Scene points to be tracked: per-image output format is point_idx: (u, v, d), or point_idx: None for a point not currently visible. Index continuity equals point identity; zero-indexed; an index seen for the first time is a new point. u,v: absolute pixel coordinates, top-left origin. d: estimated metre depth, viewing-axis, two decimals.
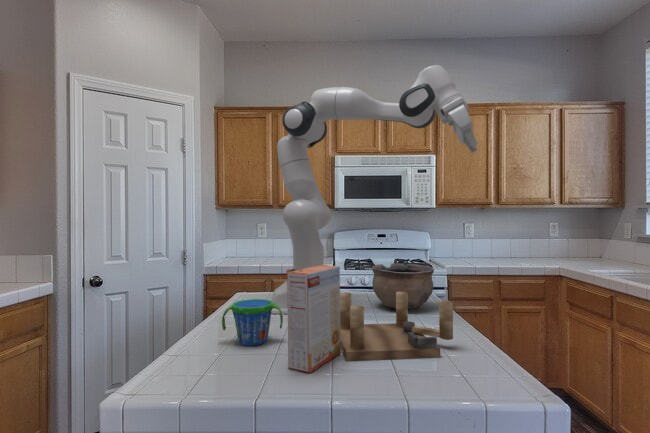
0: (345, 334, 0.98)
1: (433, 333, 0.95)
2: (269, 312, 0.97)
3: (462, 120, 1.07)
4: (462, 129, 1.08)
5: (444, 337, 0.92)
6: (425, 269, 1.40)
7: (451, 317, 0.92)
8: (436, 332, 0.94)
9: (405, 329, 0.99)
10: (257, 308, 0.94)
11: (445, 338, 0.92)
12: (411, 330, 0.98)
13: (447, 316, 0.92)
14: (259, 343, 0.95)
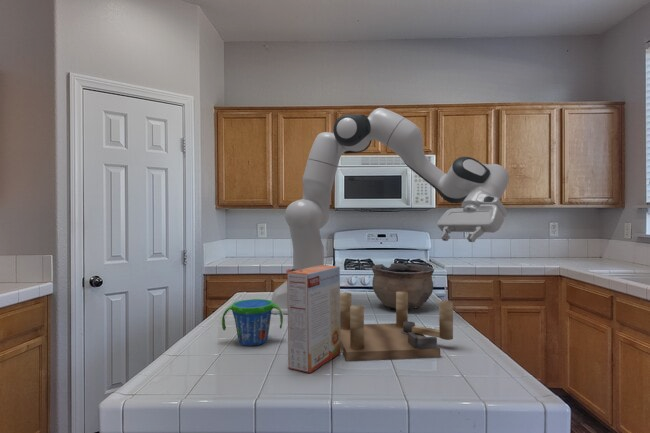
0: (345, 334, 0.98)
1: (433, 333, 0.95)
2: (269, 312, 0.97)
3: (497, 221, 1.05)
4: (490, 224, 1.04)
5: (444, 337, 0.92)
6: (425, 269, 1.40)
7: (451, 317, 0.92)
8: (436, 332, 0.94)
9: (405, 329, 0.99)
10: (257, 308, 0.94)
11: (445, 338, 0.92)
12: (411, 330, 0.98)
13: (447, 316, 0.92)
14: (259, 343, 0.95)
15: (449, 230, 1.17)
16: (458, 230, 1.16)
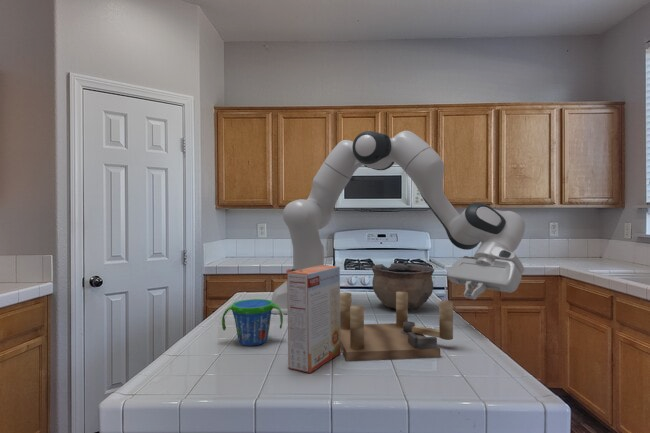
0: (345, 334, 0.98)
1: (433, 333, 0.95)
2: (269, 312, 0.97)
3: (515, 281, 0.96)
4: (507, 285, 0.95)
5: (444, 337, 0.92)
6: (425, 269, 1.40)
7: (451, 317, 0.92)
8: (436, 332, 0.94)
9: (405, 329, 0.99)
10: (257, 308, 0.94)
11: (445, 338, 0.92)
12: (411, 330, 0.98)
13: (447, 316, 0.92)
14: (259, 343, 0.95)
15: (472, 285, 1.05)
16: None
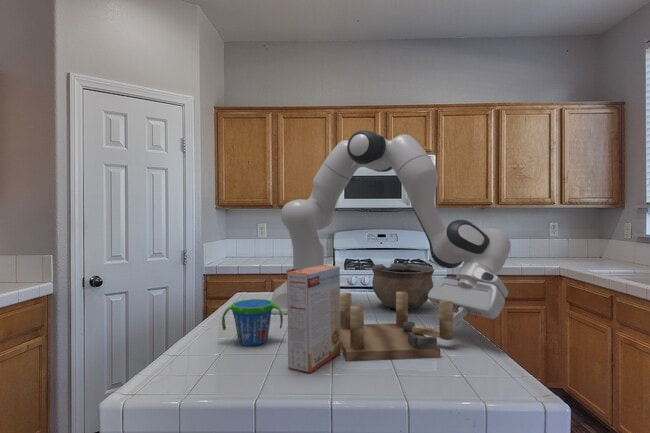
0: (345, 334, 0.98)
1: (433, 333, 0.95)
2: (269, 312, 0.97)
3: (497, 307, 0.90)
4: (489, 311, 0.89)
5: (444, 337, 0.92)
6: (425, 269, 1.40)
7: (451, 317, 0.92)
8: (436, 332, 0.94)
9: (405, 329, 0.99)
10: (257, 308, 0.94)
11: (445, 338, 0.92)
12: (411, 330, 0.98)
13: (447, 316, 0.92)
14: (259, 343, 0.95)
15: (453, 309, 0.98)
16: None
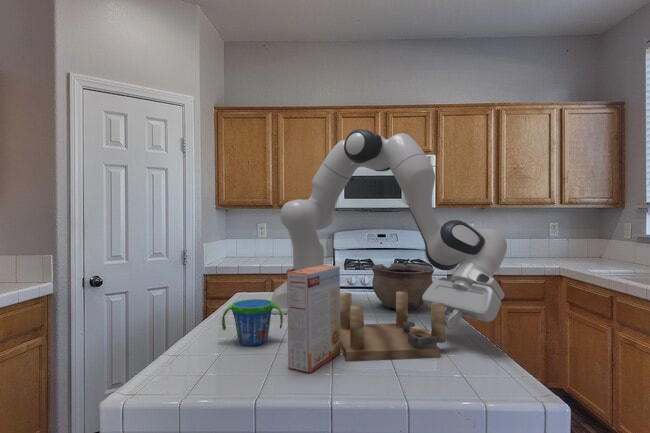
0: (345, 334, 0.98)
1: (426, 335, 0.93)
2: (269, 312, 0.97)
3: (492, 310, 0.87)
4: (484, 314, 0.86)
5: None
6: (425, 269, 1.40)
7: (441, 320, 0.90)
8: (428, 334, 0.93)
9: (404, 328, 0.99)
10: (257, 308, 0.94)
11: None
12: (409, 330, 0.98)
13: (437, 319, 0.90)
14: (259, 343, 0.95)
15: (448, 312, 0.95)
16: None
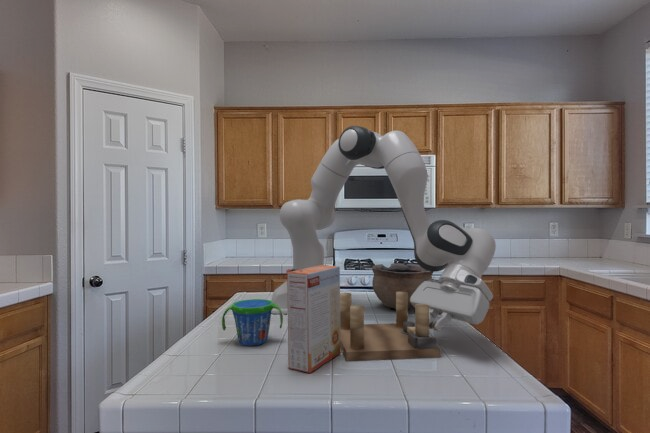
0: (345, 334, 0.98)
1: None
2: (269, 312, 0.97)
3: (481, 312, 0.85)
4: (472, 316, 0.84)
5: None
6: None
7: (422, 321, 0.89)
8: None
9: (403, 328, 1.00)
10: (257, 308, 0.94)
11: None
12: (406, 330, 0.99)
13: (418, 320, 0.89)
14: (259, 343, 0.95)
15: (435, 314, 0.93)
16: None
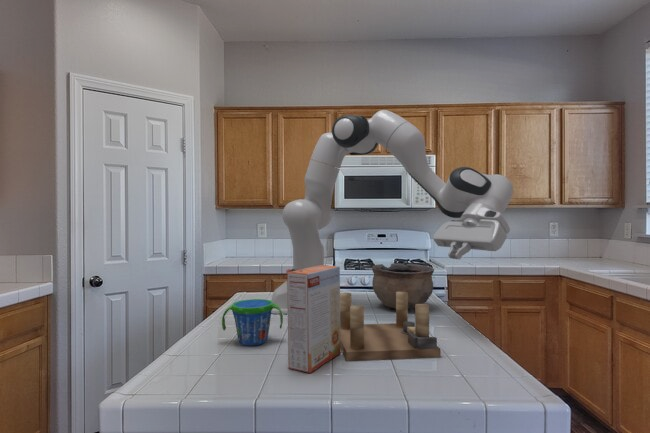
0: (345, 334, 0.98)
1: None
2: (269, 312, 0.97)
3: (499, 239, 0.95)
4: (491, 242, 0.94)
5: None
6: (425, 269, 1.40)
7: (422, 321, 0.89)
8: None
9: (403, 328, 1.00)
10: (257, 308, 0.94)
11: None
12: (406, 330, 0.99)
13: (418, 320, 0.89)
14: (259, 343, 0.95)
15: (457, 246, 1.03)
16: None
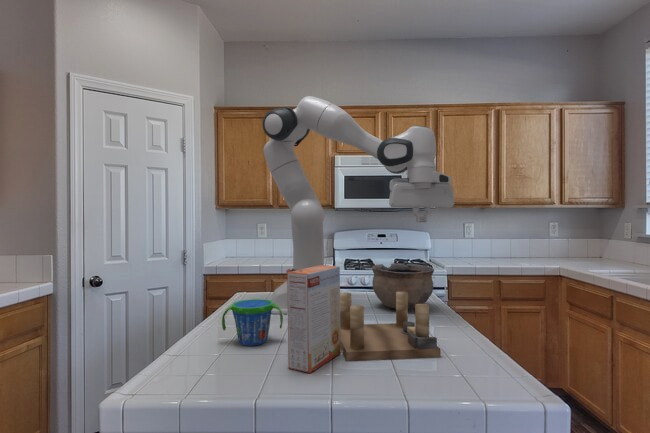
0: (345, 334, 0.98)
1: None
2: (269, 312, 0.97)
3: None
4: (452, 206, 1.18)
5: None
6: (425, 269, 1.40)
7: (422, 321, 0.89)
8: None
9: (403, 328, 1.00)
10: (257, 308, 0.94)
11: None
12: (406, 330, 0.99)
13: (418, 320, 0.89)
14: (259, 343, 0.95)
15: None
16: (411, 206, 1.19)
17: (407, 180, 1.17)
